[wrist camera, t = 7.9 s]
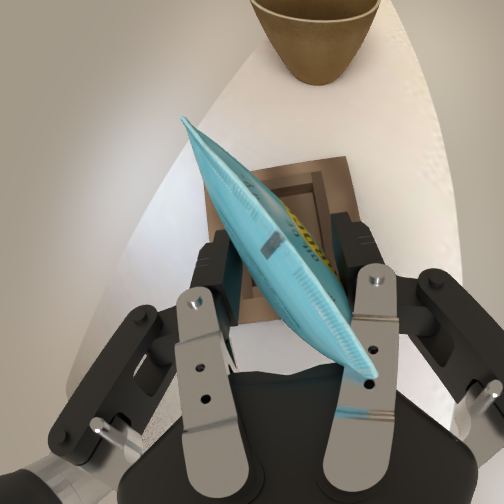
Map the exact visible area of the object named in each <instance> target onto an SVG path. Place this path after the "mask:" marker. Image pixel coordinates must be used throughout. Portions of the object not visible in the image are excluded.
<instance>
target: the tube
mask: <svg viewBox="0 0 504 504" xmlns="http://www.w3.org/2000/svg"><path fill="white" fill-rule="evenodd" d="M180 119H181V121H182V122H183V124H184V125H185V127H186V129H187V132H188V136H189V139H190V142H191V145H192V148H193V152H194V155H195V158H196V161H197V164H198V167H199V170H200V173H201V175H202V178H203V181H204V183H205V186H206V188H207V191H208V193H209V195H210V198H211V200H212V202H213V204H214V207H215V209H216V211H217V213H218V215H219V217H220V219H221V221H222V223H223V225H224V227H225V229H226V231H227V233H228V235H229V237H230V239H231V240H232V242H233V244H234V246H235V248H236V250H237V252H238V253H239V255H240V257H241V259H242V261H243V262H244V264H245V266H246V268H247V270H248V271H249V273H250V275H251V276H252V278H253V280H254V282H255V283H256V285H257V287H258V288H259V290H260V291H261V293H262V294H263V296H264V297H265V299H266V300H267V302H268V303H269V304H270V306H271V307H272V308H273V309H274V311H275V312H276V313H277V314H278V316H279V317H280V318H281V319H282V320H283V321H284V322H285V323H286V324H287V325H288V326H289V327H290V328H291V329H292V330H293V331H294V332H295V333H296V334H297V335H299V336H300V337H301V338H302V339H303V340H304V341H306V342H307V343H308V344H310V345H311V346H312V347H313V348H315V349H316V350H317V351H319V352H320V353H322V354H323V355H325V356H326V357H328V358H330V359H331V360H333V361H335V362H336V363H338V364H340V365H342V366H344V367H345V363H346V364H348V365H349V366H350V367H352V368H353V369H354V370H356V371H357V372H359V373H360V374H361V375H362V376H363V377H365V378H368V379H376V378H377V377H378V375H379V374H378V371H377V370H376V368H375V366H374V364H373V362H372V360H371V359H370V357H369V356H368V354H367V353H366V351H365V350H364V348H363V347H362V345H361V343H360V342H359V340H358V338H357V337H356V335H355V333H354V331H353V330H352V328H351V321H352V316H353V313H352V310H351V307H350V304H349V301H348V298H347V296H346V293H345V290H344V287H343V285H342V282H341V281H340V278H339V276H338V274H337V273H336V271H335V269H334V267H333V266H332V264H331V262H330V260H329V259H328V257H327V256H326V254H325V253H324V251H323V250H322V248H321V247H320V246H319V244H318V243H317V242H316V240H315V239H314V238H313V236H312V235H311V234H310V233H309V231H308V230H307V229H306V228H305V227H304V225H303V224H302V223H301V222H300V221H299V219H298V218H297V217H296V216H295V215H294V214H293V213H292V212H291V211H290V210H289V208H288V207H287V206H286V205H285V204H284V203H283V202H282V201H281V200H280V199H279V198H278V197H277V196H276V195H275V194H273V193H272V192H271V191H270V190H269V189H268V188H267V187H266V186H265V185H264V184H263V183H262V182H261V181H260V180H259V179H257V178H256V177H255V176H254V175H253V174H252V173H251V172H250V171H249V170H248V169H246V168H245V167H244V166H243V165H242V164H241V163H239V162H238V161H237V160H236V159H235V158H234V157H232V156H231V155H230V154H229V153H228V152H226V151H225V150H224V149H223V148H222V147H220V146H219V145H218V144H217V143H215V142H214V141H213V140H211V139H210V138H208V137H207V136H206V135H204V134H203V133H202V132H200V131H199V130H197V129H196V128H195V127H194V126H192V125H191V123H190V122H189V121H188V120H187V119H186V118H185V117H183V116H182V117H181V118H180Z"/></svg>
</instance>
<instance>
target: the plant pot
mask: <svg viewBox="0 0 504 504" xmlns="http://www.w3.org/2000/svg"><path fill="white" fill-rule="evenodd" d="M380 1H381V0H250V2H251V4H252V6H253V8H254V11H255V13H256V15H257V17H258V19H259V21H260V23H261V25H262V27H263V29H264V31H265V33H266V35H267V36H268V38H269V40H270V42H271V43H272V45H273V47H274V48H275V50H276V51H277V53H278V55H279V56H280V58H281V59H282V60H283V62H284V63H285V65H286V66H287V67H288V68H289V70H290V71H291V72H292V73H293V75H294V76H295V77H296V78H297V79H299V80H300V81H302V82H304V83H307V84H311V85H324V84H328V83H331V82H333V81H334V80H335V79H336V78H337V77H338V76H339V75H340V74H341V73H342V72H343V71H344V70H345V68H346V67H347V66H348V64H349V63H350V62H351V60H352V59H353V57H354V56H355V54H356V53H357V51H358V50H359V48H360V46H361V44H362V43H363V41H364V39H365V37H366V35H367V33H368V31H369V29H370V26H371V24H372V22H373V19H374V17H375V15H376V12H377V10H378V7H379V4H380Z"/></svg>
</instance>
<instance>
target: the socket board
mask: <svg viewBox="0 0 504 504" xmlns="http://www.w3.org/2000/svg"><path fill="white" fill-rule="evenodd" d="M251 173H252V174H253V175H254V176H255V177H256V178H257V179H259V180H260V181H261V182H262V183H263V184H264V185H265V186H266V187H267V188H268V189H269V190H270V191H271V192H272V193H273V194H275V195H276V196H277V197H278V198H279V199H280V200H281V201H282V202H283V203H284V204H285V205H286V206H287V207H288V208H289V210H290V211H291V212H292V213H293V214H294V215H295V216H296V217H297V218H298V219H299V221H300V222H301V223H302V224H303V225H304V227H305V228H306V229H307V230H308V231H309V233H310V234H311V235H312V236H313V238H314V239H315V240H316V242H317V243H318V244H319V246H320V247H321V248H322V250H323V251H324V253H325V254H326V256H327V257H328V259H329V260H330V262H331V264H332V266H333V267H334V269H335V271H336V273H337V274H338V270H337V266H336V262H335V258H334V254H333V247H332V234H331V220H330V214H331V213H338V212H346V211H347V212H348V214H349V216H350V219H351V221H352V222H358V221H360V217H359V212H358V207H357V203H356V198H355V193H354V189H353V185H352V180H351V176H350V172H349V168H348V164H347V160H346V156H343V157H335V158H328V159H321V160H315V161H308V162H302V163H296V164H290V165H284V166H278V167H272V168H267V169H261V170H256V171H251ZM204 192H205V202H206V212H207V221H208V230H209V240H210V243H211V242H213V239H214V235H215V231H216V230H221V229H225V227H224V225H223V223H222V221H221V219H220V217H219V215H218V213H217V211H216V209H215V207H214V204H213V202H212V200H211V198H210V195H209V193H208V191H207V188H206V186H205V183H204ZM338 276H339V274H338ZM277 319H281V318H280V317H279V316H278V314H277V313H276V312H275V311H274V309H273V308H272V307H271V306H270V304H269V303H268V302H267V300H266V299H265V297H264V296H263V294H262V293H261V291H260V290H259V288H258V287H257V285H256V283H255V282H254V280H253V278H252V276H251V275H250V273H249V271H248V270H247V268H246V266H245V264H244V262H243V275H242V286H241V297H240V308H239V320H238V324H245V323H254V322H262V321H270V320H277Z"/></svg>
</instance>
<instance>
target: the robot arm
mask: <svg viewBox="0 0 504 504" xmlns="http://www.w3.org/2000/svg"><path fill="white" fill-rule="evenodd" d="M330 220H331V234H332V247H333V254H334V258H335V262H336V266H337V270H338V274H339V278H340V281H341V282H342V285H343V287H344V290H345V293H346V296H347V298H348V301H349V304H350V307H351V310H352V312H354V314H353V316H352V321H351V328H352V330H353V331H354V333H355V335H356V337H357V338H358V340H359V342H360V343H361V345H362V347H363V348H364V350H365V351H366V353H367V354H368V356H369V357H370V359H371V360H372V362H373V364H374V366H375V368H376V370H377V371H378V374H379V375H378V377H377V378H376V379H368V378H365V377H363V376H362V375H361V374H360V373H359V372H357V371H356V370H354V369H353V368H352V367H350V366H349V365H348V364H346V363H345V367H344V366H342V365H340V364H338V363H330V364H323V365H318V366H315V367H313V368H310V369H307V370H304V371H301V372H298V373H295V374H292V375H280V374H272V373H265V372H259V371H254V372H239V369H238V366H237V362H236V358H235V354H234V351H233V347H232V343H231V339H230V337H229V330H230V327H231V326H238V320H239V308H240V297H241V286H242V275H243V261H242V259H241V257H240V255H239V253H238V252H237V250H236V248H235V246H234V244H233V242H232V240H231V239H230V237H229V235H228V233H227V231H226V229H221V230H216V231H215V235H214V239H213V242H211V243H206V244H205V245H204V246H203V247H202V249H201V250H200V251H199V255H198V258H197V260H198V261H197V262H196V267H195V270H194V273H193V277H192V281H191V285H190V289H188V290H186V291H185V292H183V293H182V294H181V295H180V296H179V298H178V300H177V303H176V306H174V307H171V308H168V309H166V310H163V311H160V312H157V310H156V308H155V307H153V306H151V305H141V306H139V307H136V308H135V309H133V310H132V311H131V312H130V313H129V314H128V315H127V317H126V318H125V319H124V321H123V322H122V323H121V325H120V326H119V328H118V329H117V330H116V332H115V333H114V335H113V336H112V338H111V339H110V340H109V342H108V343H107V345H106V346H105V347H104V349H103V350H102V352H101V353H100V355H99V356H98V358H97V359H96V361H95V362H94V363H93V365H92V366H91V368H90V369H89V371H88V372H87V374H86V375H85V377H84V378H83V380H82V381H81V383H80V384H79V386H78V387H77V389H76V390H75V392H74V393H73V395H72V397H71V398H70V400H69V401H68V403H67V404H66V406H65V407H64V409H63V411H62V412H61V414H60V415H59V417H58V419H57V420H56V422H55V423H54V425H53V427H52V428H51V430H50V432H49V435H48V445H49V448H50V450H51V451H52V452H51V453H50V455H48V456H46V457H44V458H42V459H40V460H38V461H36V462H34V463H32V464H30V465H28V466H26V467H24V468H22V469H20V470H18V471H15V472H13V473H9V474H6V475H1V476H0V504H97V503H98V502H99V501H101V500H102V499H103V498H104V497H105V496H107V495H108V494H109V493H110V492H111V491H112V490H115V491H117V502H118V504H470V503H471V500H472V497H473V494H474V491H475V488H476V485H477V480H478V468H479V467H480V466H482V465H483V464H484V463H486V462H487V461H488V460H489V459H490V458H492V457H493V456H494V455H495V454H496V453H497V452H498V451H500V450H501V449H502V448H503V447H504V330H503V329H502V328H501V327H500V326H499V325H498V324H497V323H496V322H495V320H494V319H493V318H492V317H491V316H490V315H489V314H488V313H487V312H486V311H485V310H484V309H483V308H482V307H481V306H480V304H479V303H478V302H477V301H476V300H475V299H474V298H473V297H472V296H471V295H470V294H469V293H468V292H467V291H466V290H465V289H464V288H463V287H462V286H461V285H460V284H459V283H458V282H457V281H456V280H455V279H454V278H453V277H452V276H451V275H450V274H448V273H447V272H445V271H443V270H441V269H436V268H431V269H427V270H424V271H423V272H421V273H420V275H419V277H418V279H414V278H405V277H400V276H397V275H396V274H395V272H394V271H393V270H392V269H391V268H390V267H389V266H387V265H385V263H384V261H383V258H382V256H381V254H380V251H379V249H378V247H377V245H376V243H375V240H374V238H373V237H372V234H371V231H370V229H369V227H368V226H366V225H365V224H364V223H362V222H361V221H358V222H352V221H351V219H350V216H349V214H348V212H347V211H346V212H338V213H331V214H330ZM399 334H408V336H409V338H410V339H411V341H412V342H413V343H414V345H415V346H416V347H417V349H418V350H419V351H420V353H421V354H422V355H423V357H424V358H425V359H426V361H427V362H428V363H429V365H430V366H431V368H432V369H433V370H434V372H435V373H436V374H437V376H438V377H439V379H440V380H441V381H442V383H443V384H444V386H445V387H446V389H447V390H448V391H449V393H450V394H451V396H452V397H453V399H454V400H455V402H456V403H457V404H458V405H457V407H456V409H455V413H454V418H455V422H456V424H457V426H458V430H459V438H457V437H456V436H454V435H453V434H452V433H451V432H449V431H448V430H447V429H446V428H444V427H443V426H442V425H440V424H439V423H438V422H437V421H435V420H434V419H433V418H432V417H430V416H429V415H428V414H427V413H425V412H424V411H423V410H421V409H420V408H419V407H418V406H416V405H415V404H414V403H413V402H411V401H410V400H409V399H408V398H406V397H405V396H404V395H403V394H401V393H400V392H399V391H398V390H396V385H397V371H398V350H399ZM145 354H146V355H147V357H146V358H145V360H144V362H143V363H142V365H141V366H140V368H139V370H138V371H137V373H136V375H135V376H134V378H133V375H134V371H135V369H136V367H137V366H138V364H139V363H140V361H141V359H142V358H143V356H144V355H145ZM176 372H177V377H178V386H179V394H180V402H181V410H182V416H181V417H180V418H179V419H178V420H177V421H176V422H175V423H174V424H173V425H172V426H171V427H170V428H169V429H168V430H167V431H166V432H165V433H164V434H163V435H162V436H161V437H160V438H159V439H158V440H157V441H156V442H155V443H154V444H153V445H152V446H151V447H150V448H149V449H148V450H147V451H146V452H145V453H144V449H143V440H142V437H141V435H142V434H143V432H144V430H145V428H146V426H147V424H148V423H149V421H150V419H151V417H152V415H153V414H154V412H155V410H156V408H157V406H158V405H159V403H160V401H161V399H162V397H163V396H164V394H165V392H166V390H167V388H168V387H169V385H170V383H171V381H172V379H173V378H174V376H175V374H176Z"/></svg>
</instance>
